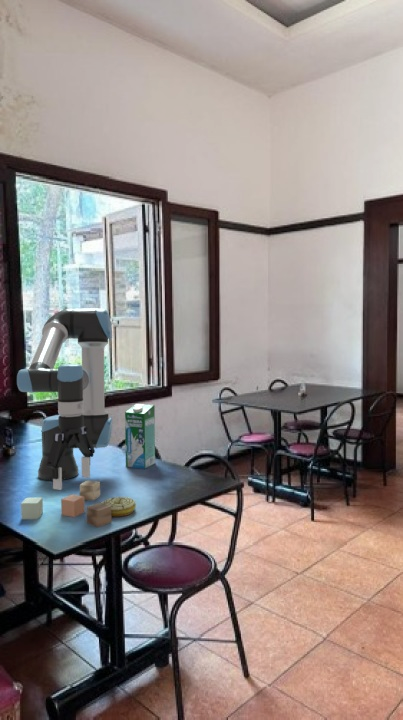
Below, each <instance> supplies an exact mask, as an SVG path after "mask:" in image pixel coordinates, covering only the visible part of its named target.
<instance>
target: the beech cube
mask: <svg viewBox="0 0 403 720" xmlns="http://www.w3.org/2000/svg"><path fill="white" fill-rule="evenodd" d="M79 496H84V497H85V501H95V500H96V499H98V498H99V497H101V481H98V480H97V481H95V480H85V481H83V482H82V483H80V484H79Z"/></svg>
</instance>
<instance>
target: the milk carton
mask: <svg viewBox="0 0 403 720" xmlns="http://www.w3.org/2000/svg"><path fill="white" fill-rule="evenodd" d="M155 408H156V406H155V404H148V403H147V404H145V403H135V404H134V405H132V406H131V407H130V408H128V409H127V410H126V411H125V412H124V425H125V426H124V427H125V429H124V430H125V432H124V436H125V441H124V443H125V446H124V447H125V467H127V468H133V469H134V468H135V469H143V470H145V469H147V468H149V467H151V466H153V465H154V464H156V434H155V433H156V432H155V431H156V430H155V429H156V426H155V421H156V419H155V414H156V413H155V411H156V410H155Z"/></svg>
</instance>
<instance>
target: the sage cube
mask: <svg viewBox="0 0 403 720" xmlns="http://www.w3.org/2000/svg"><path fill="white" fill-rule="evenodd" d="M43 501H44V500H43V497H25V499H24V500H22V502H21V503H20V512H21V514H20V516H21V517H20V519H21V520H39V518H40V517H41V516H42V515H43V514H44V503H43ZM42 513H43V514H42ZM41 514H42V515H41Z"/></svg>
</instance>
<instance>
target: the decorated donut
mask: <svg viewBox="0 0 403 720" xmlns="http://www.w3.org/2000/svg"><path fill="white" fill-rule="evenodd" d="M101 503H103V504H106V505H109V506H111V517H115V518H117V517H125V516H128V515H131V514H132V513H133V511H134V510H135V509H136V507H137V505H136V501H135V499H134V498H132V497H129V496H127V497H126V496H114V497H111V498H107V499H105V500H103V501H102V502H101Z"/></svg>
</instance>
